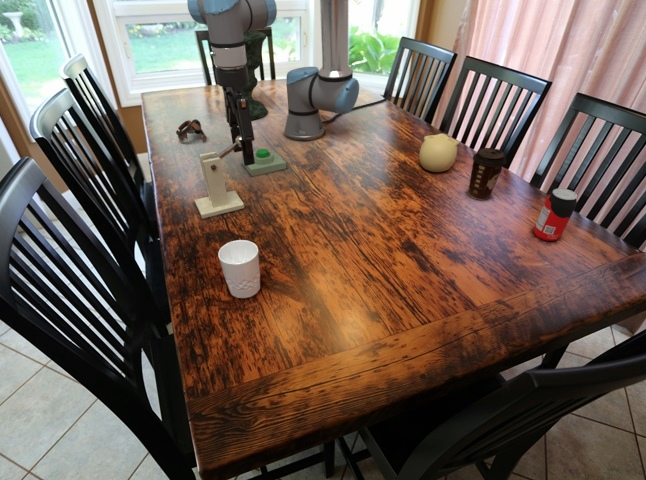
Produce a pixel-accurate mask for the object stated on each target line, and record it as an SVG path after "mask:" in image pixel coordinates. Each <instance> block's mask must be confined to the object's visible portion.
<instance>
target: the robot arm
mask: <svg viewBox="0 0 646 480" xmlns="http://www.w3.org/2000/svg"><path fill="white" fill-rule="evenodd" d="M186 6H187V10H188V13H189V15H190V18H192V20H193V21H194V22H196V24H200V25H205V26H207V33H208V37H210V43H209V44H210V48H211V51H209V56H210V57H212V60H213V65H214V66H215V68H214V73H215V79H216V83H217V85H218V86H219V87H221V88H222V92H223V99H224V107H225V109H224V110H225V117H226V123H227V124H228V126H229V129H230V135H231V136H230V137H231V143H232V144H234V143H235V142H236V137H237V136H238V135H241V138H242V140H239V142H240V143H241V147H237V148H236V149H234V150H233V153H235V154H236V153H240V152H242V153H241V154H242V158H243V160H244V165H245V166H248V165H252V164H255V161H254V153H255V152H254V145H253V141H256V140H255V139H256V138H255V134H254V133H255V132H254V128H253V122H252V120H251V116H250V111H249V102H248V101H249V100H248V98H246V97H245V94H244V93H243V91H242V87H243V86H244V85H247V84H248V82H249V78H248V69H247V67H246V66H245V64H246V63H247V59H246V51H245V44H244V36H243V33H245V32H249V31H257V30H264V29H266V28H268V27H270V26H272V25H273V24H274V23H275V22H276V19H277V16H278V7H277V3H276V0H187V5H186ZM319 12H320V13H319V14H320V37H321V58H322V59H321V62H322V63H321V64H322V66H321V68H319V67H317V66H303V67H302V66H301V67H297V68H294V69H291V70H289V71H288V72H287V73H286V84H285V85H286V95H287V110H288V114H287V118H286V123H285V127H284V135H285V137H286V138H288V139H290V140H294V141H300V142H302V141H314V140H317V139H320V138H321V137H323V136H324V133H325V127H324V124H329V123H331V122H333V121H334V120H336V118H338V117H340V116H341V115H346V114H349V113H350V112H351V111H353V110H357V109H361V108H366V107H370V106H374V105H378V104H380V103H383V102H385V101H387V100H388V99H389V98H390V97H391V93H387V95H386V97H385V98H383V99H380V100H377V101H373V102H370V103H365V104H363V105H357V106H355V105H356V103H357V101H358V98H359V93H360V83H359V80H358V79H357V78H355V77H354V76H353V75H354V71H353V68H351V66H350V65H349V0H319ZM320 111H323V112H328V113H332V114H333V113H334V114H335V115H334V116H333V117H332V118H330V119H328V120H322V118H321V114H320ZM244 165H243V166H244Z"/></svg>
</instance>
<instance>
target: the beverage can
mask: <svg viewBox="0 0 646 480" xmlns="http://www.w3.org/2000/svg"><path fill="white" fill-rule="evenodd" d="M577 198H578V195H577V193H576V192H574V191H573V190H572V189H571V190H570V189H568V188H560V187H559V188H555V189H553V190H552V192H551V193H549V194H548V195H547V197H546V199H545V201H544V204H543V206H542V208H541V210H540V213H539V214H538V217H537V218H536V219H537V220H536V221H535V224H534V227H533V233H534V234H535V236H536V237H537V238H539V239H540V240H542V241H546V242H553V241H557V240H559V239H560V238H561V237H562V235H563V233H564V231H565V229H566V227H567V225H568V223H569V221H570V219H571V217H572V215H573V213H574V210H576V207H577V205H578V200H577Z"/></svg>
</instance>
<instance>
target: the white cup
mask: <svg viewBox="0 0 646 480" xmlns="http://www.w3.org/2000/svg"><path fill="white" fill-rule="evenodd" d="M217 256H218V259H219V264H220V266H221V270H222V274H223V276H224V279H225V282H226V284H227V288H228V291H229V293H230V295H231V296H233V297H235V298H237V299H248V298H251V297H253V296H256V294H258V292H259V291H260V289H261V267H260V256H259V247H258V245H257V244H256V243H254V242H252V241H251V240H246V239H236V240H231V241H229V242H227V243H225V244H224V245H222V246H221V247H220V248H219V251H218V253H217Z"/></svg>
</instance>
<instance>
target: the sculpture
mask: <svg viewBox="0 0 646 480" xmlns="http://www.w3.org/2000/svg"><path fill="white" fill-rule="evenodd" d="M459 145H460V141H458V140H457V139H456V138H455V139H454V138H453V137H450V136H448V135H447V134H446V133H438V134H432V135H431V134H430V135H425V136H423V142H422V144H421V146H420V150H419V153H418V160H419V164H420V166H421V167H422V168H423V169H424V170H425V171H429V172H431V173H442V172H445V171H448V170H449V169H450V168H451V167H452V166H453V165H454V163H455V161H456V158H457V156H458V146H459Z"/></svg>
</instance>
